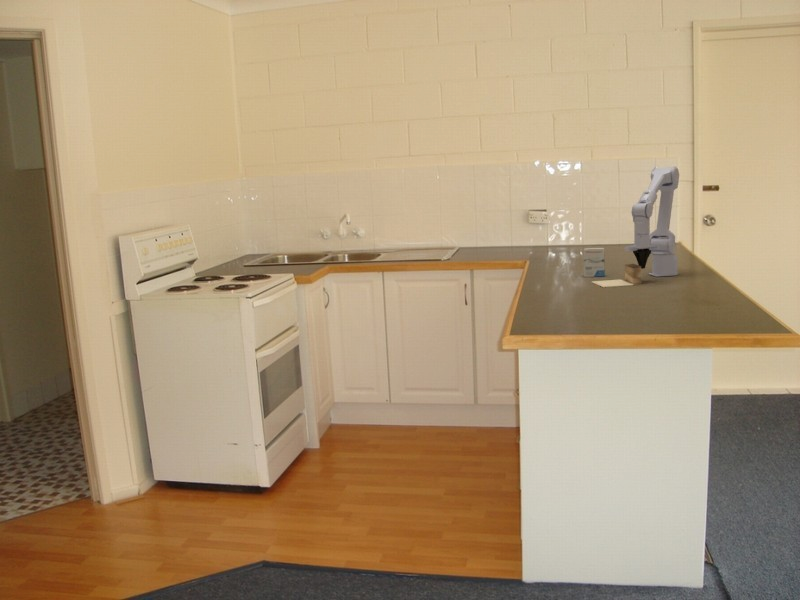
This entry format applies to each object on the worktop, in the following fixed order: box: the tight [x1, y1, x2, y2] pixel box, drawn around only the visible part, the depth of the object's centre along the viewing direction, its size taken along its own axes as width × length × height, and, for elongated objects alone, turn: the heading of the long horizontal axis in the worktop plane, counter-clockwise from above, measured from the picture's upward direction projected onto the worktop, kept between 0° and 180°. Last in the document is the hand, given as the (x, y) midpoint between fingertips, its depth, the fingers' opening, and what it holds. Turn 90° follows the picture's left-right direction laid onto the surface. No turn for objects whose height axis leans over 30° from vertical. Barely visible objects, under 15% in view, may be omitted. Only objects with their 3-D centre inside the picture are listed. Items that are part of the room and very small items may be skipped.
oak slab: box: [624, 263, 642, 285], centre depth 302 cm, size 4×8×7 cm, turn 4°
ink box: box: [583, 247, 606, 278], centre depth 324 cm, size 8×5×12 cm, turn 74°
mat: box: [590, 278, 634, 289], centre depth 302 cm, size 12×14×1 cm
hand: (642, 268), depth 302 cm, fingers closed
